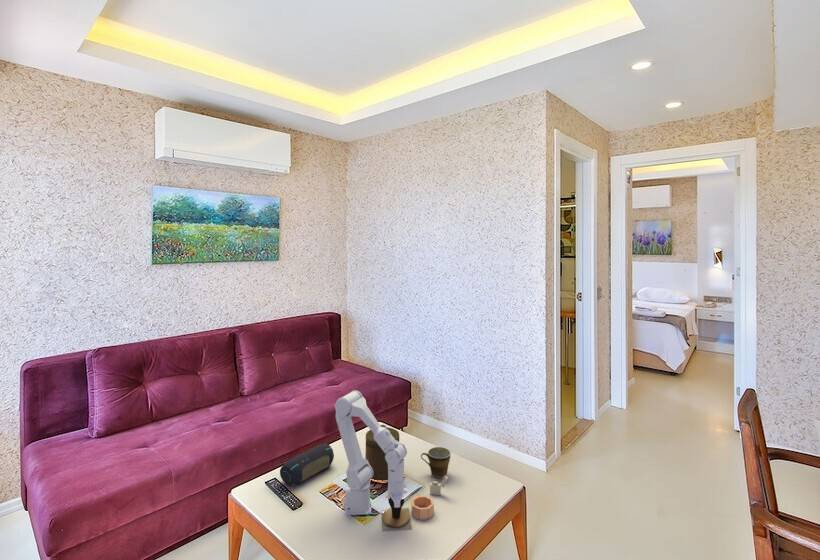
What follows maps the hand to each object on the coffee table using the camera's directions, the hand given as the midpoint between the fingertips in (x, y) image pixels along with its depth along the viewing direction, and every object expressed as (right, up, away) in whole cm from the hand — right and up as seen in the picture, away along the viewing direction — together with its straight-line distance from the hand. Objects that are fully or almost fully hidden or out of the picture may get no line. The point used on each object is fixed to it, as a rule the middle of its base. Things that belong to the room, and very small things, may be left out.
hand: (395, 514), depth 152 cm
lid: (0, -2, 0) cm, 2 cm away
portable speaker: (-39, 0, +30) cm, 49 cm away
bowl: (+10, -2, +4) cm, 11 cm away
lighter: (+17, -1, +16) cm, 23 cm away
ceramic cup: (+16, 0, +31) cm, 35 cm away
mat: (0, -2, 0) cm, 2 cm away
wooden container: (-7, 0, +31) cm, 31 cm away
